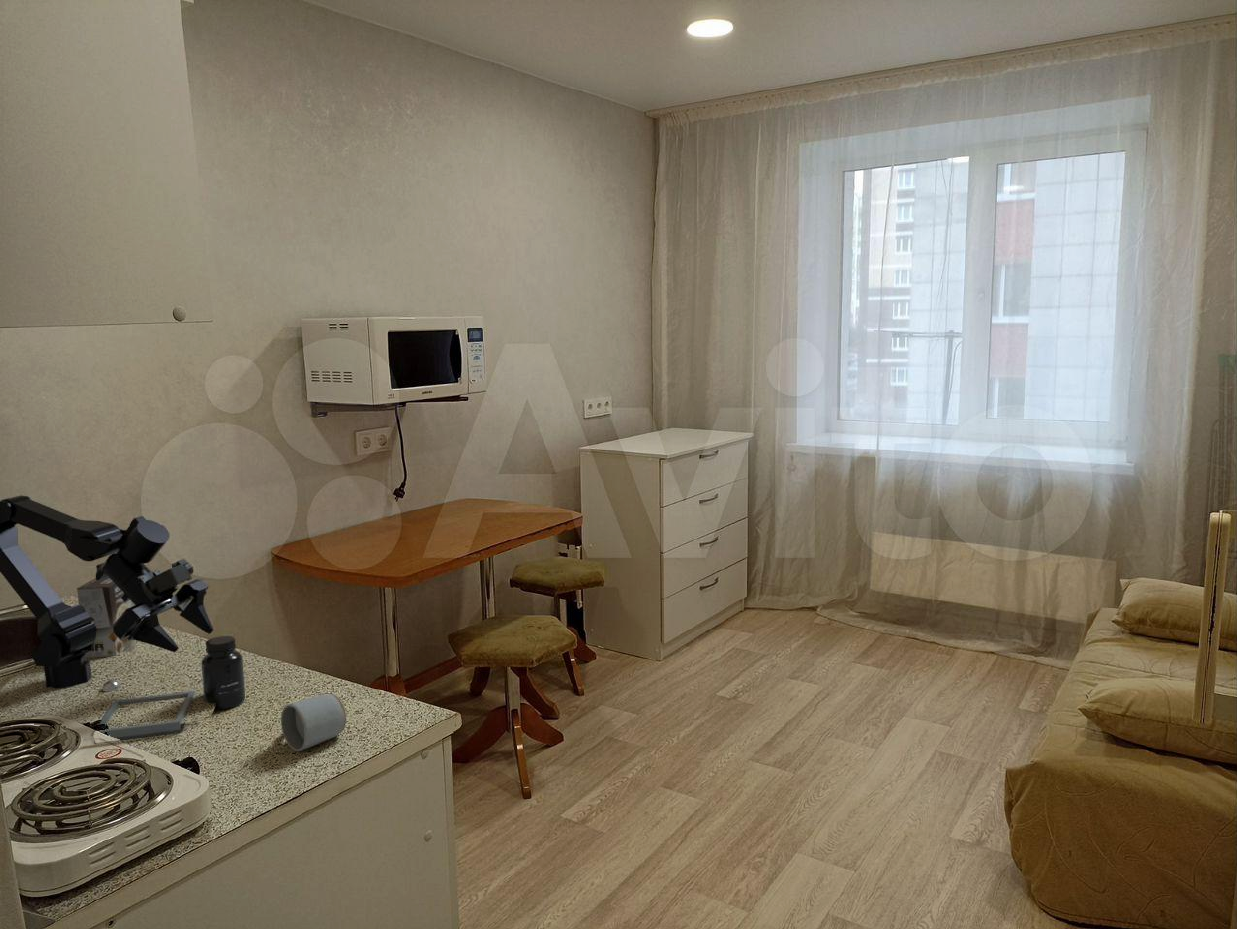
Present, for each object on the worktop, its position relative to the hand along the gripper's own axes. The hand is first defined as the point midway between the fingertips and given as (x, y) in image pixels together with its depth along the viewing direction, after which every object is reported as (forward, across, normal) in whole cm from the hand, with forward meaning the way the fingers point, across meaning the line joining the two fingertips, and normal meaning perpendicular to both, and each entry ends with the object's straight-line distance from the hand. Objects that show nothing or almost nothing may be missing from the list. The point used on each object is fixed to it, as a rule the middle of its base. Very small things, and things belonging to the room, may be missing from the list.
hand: (194, 640), depth 159 cm
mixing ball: (-6, -1, +20) cm, 21 cm away
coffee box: (-16, +16, +32) cm, 40 cm away
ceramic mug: (+28, -10, -11) cm, 32 cm away
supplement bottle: (+12, 0, +5) cm, 13 cm away
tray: (+6, -9, +11) cm, 15 cm away
